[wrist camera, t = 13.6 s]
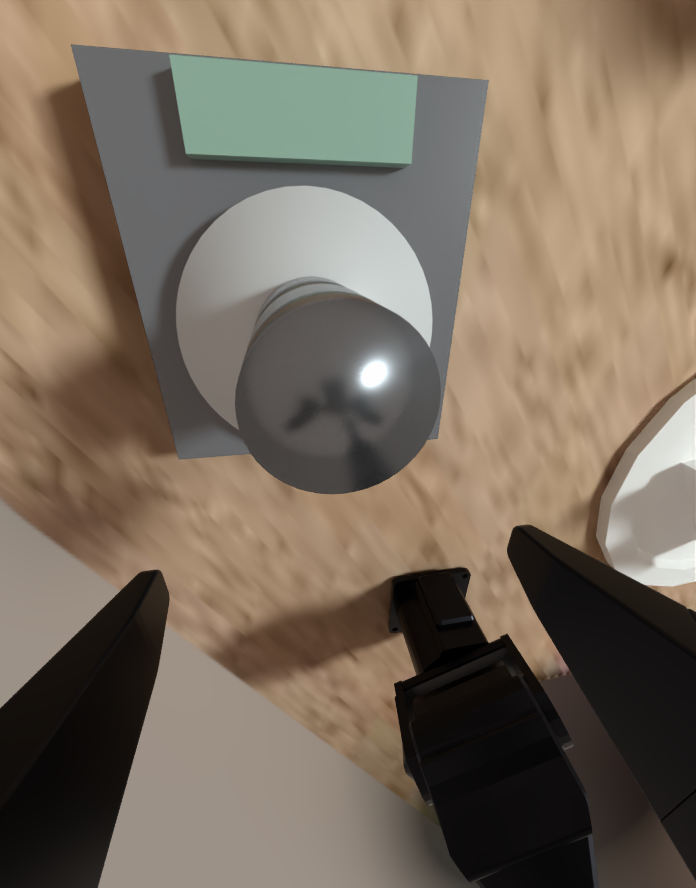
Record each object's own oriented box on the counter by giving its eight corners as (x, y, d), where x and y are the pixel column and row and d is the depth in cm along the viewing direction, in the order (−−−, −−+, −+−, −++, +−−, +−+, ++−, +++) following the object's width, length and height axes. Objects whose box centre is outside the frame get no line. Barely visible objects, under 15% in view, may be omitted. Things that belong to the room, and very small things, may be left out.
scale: (425, 424, 22) (444, 447, 19) (187, 441, 20) (173, 469, 17) (464, 99, 15) (503, 68, 12) (98, 72, 13) (53, 26, 10)
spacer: (390, 424, 14) (429, 484, 10) (257, 435, 13) (250, 503, 9) (399, 282, 11) (453, 296, 8) (236, 285, 10) (216, 302, 7)
